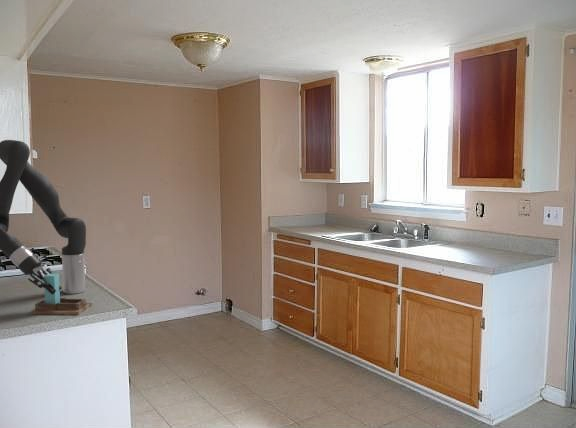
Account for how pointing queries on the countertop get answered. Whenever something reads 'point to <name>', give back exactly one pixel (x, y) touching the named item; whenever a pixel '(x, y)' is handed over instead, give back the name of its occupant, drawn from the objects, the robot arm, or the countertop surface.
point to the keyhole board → (62, 307)
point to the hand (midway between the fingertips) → (57, 291)
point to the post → (54, 281)
